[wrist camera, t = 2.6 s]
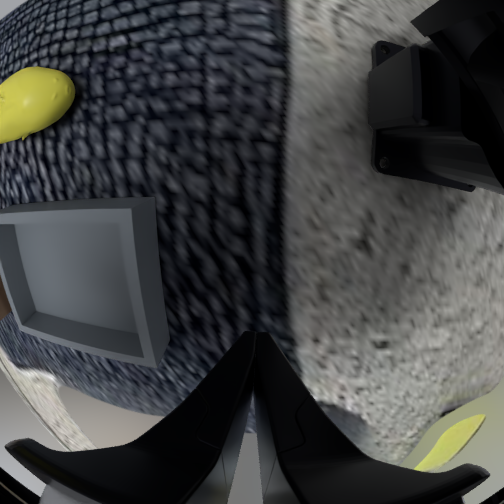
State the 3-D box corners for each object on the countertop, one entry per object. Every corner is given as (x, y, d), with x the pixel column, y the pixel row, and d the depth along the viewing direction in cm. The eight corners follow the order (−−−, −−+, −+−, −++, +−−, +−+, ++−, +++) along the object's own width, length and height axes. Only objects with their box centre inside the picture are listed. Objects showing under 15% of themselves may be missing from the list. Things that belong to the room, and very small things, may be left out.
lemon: (82, 136, 11) (30, 139, 7) (3, 144, 11) (-38, 151, 7) (94, 61, 9) (48, 45, 6) (11, 85, 9) (-29, 83, 6)
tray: (155, 197, 12) (131, 208, 10) (170, 339, 15) (157, 368, 13) (13, 204, 12) (-13, 214, 10) (38, 312, 15) (20, 330, 13)
